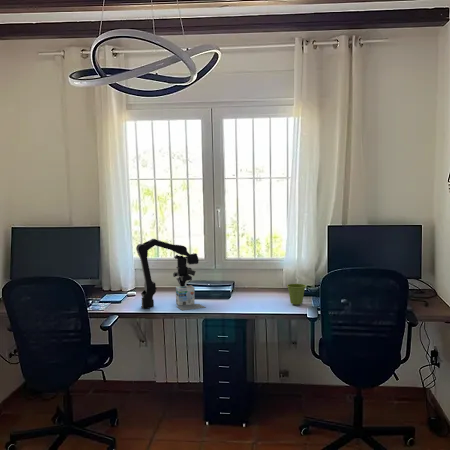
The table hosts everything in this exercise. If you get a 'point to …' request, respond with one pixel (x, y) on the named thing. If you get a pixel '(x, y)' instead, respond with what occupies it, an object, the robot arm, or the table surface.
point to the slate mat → (190, 307)
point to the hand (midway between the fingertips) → (182, 289)
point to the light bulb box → (185, 295)
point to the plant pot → (296, 293)
